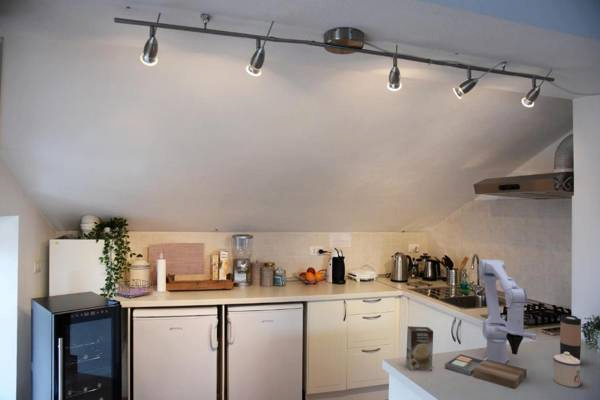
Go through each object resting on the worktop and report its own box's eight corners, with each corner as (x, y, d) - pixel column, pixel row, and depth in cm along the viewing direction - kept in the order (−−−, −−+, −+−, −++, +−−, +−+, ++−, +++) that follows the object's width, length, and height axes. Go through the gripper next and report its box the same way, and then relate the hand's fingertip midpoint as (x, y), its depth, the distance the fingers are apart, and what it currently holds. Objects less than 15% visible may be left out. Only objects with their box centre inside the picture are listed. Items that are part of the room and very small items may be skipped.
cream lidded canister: (580, 389, 153) (581, 358, 154) (551, 383, 159) (552, 353, 159) (580, 379, 163) (581, 349, 163) (553, 373, 169) (554, 344, 169)
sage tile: (467, 363, 171) (467, 368, 171) (455, 360, 174) (455, 364, 174) (463, 366, 167) (463, 371, 167) (451, 363, 170) (451, 368, 170)
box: (460, 358, 182) (460, 353, 182) (484, 365, 175) (484, 360, 175) (444, 368, 171) (444, 363, 171) (470, 376, 164) (470, 370, 164)
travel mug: (557, 362, 180) (558, 316, 181) (561, 358, 186) (562, 313, 186) (578, 367, 175) (579, 320, 176) (581, 363, 181) (582, 317, 181)
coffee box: (410, 370, 168) (411, 330, 168) (405, 364, 174) (406, 326, 174) (432, 370, 168) (433, 331, 168) (427, 364, 174) (428, 326, 175)
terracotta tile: (472, 358, 176) (472, 363, 176) (460, 355, 179) (460, 360, 179) (467, 362, 172) (467, 366, 172) (456, 358, 175) (455, 363, 175)
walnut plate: (487, 365, 175) (487, 358, 175) (526, 376, 164) (526, 369, 164) (473, 376, 163) (473, 369, 163) (514, 389, 153) (514, 380, 153)
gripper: (492, 317, 166) (491, 351, 165) (532, 325, 156) (532, 361, 155) (498, 314, 171) (498, 347, 171) (537, 321, 161) (537, 356, 160)
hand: (514, 353), depth 163 cm, fingers closed
